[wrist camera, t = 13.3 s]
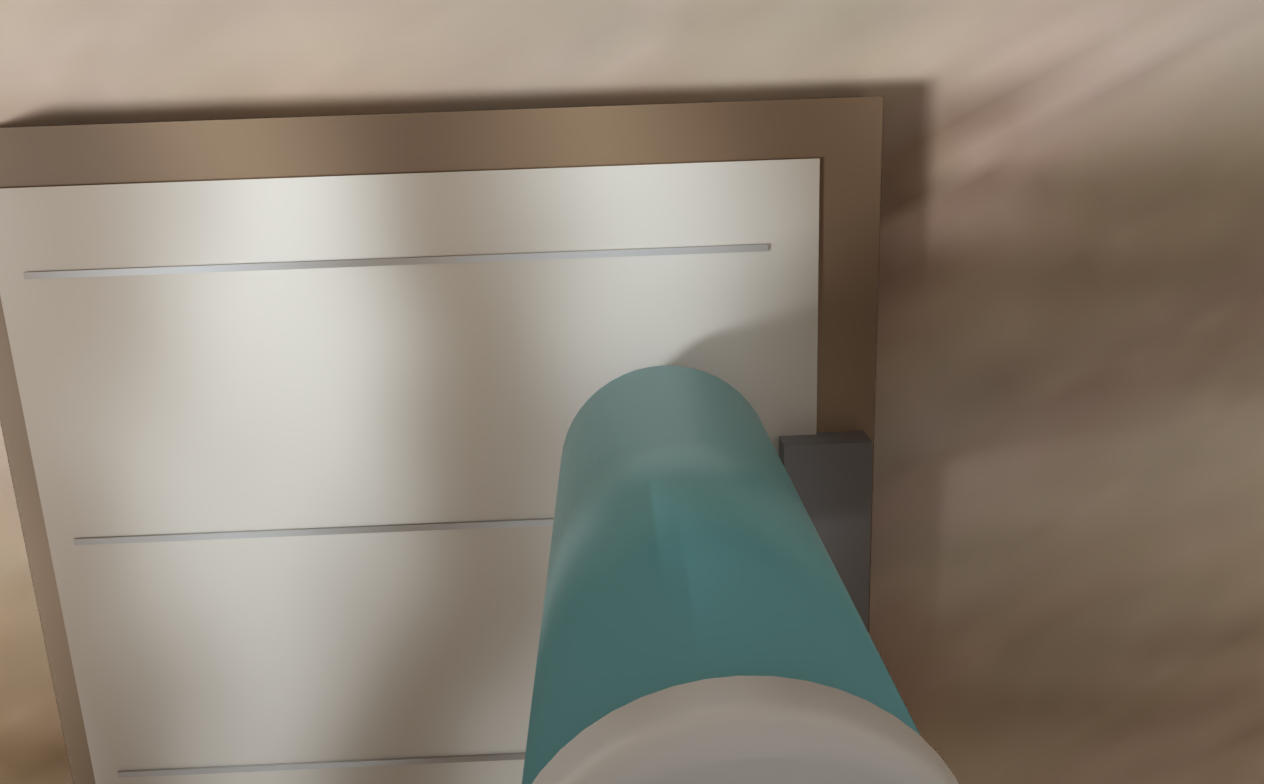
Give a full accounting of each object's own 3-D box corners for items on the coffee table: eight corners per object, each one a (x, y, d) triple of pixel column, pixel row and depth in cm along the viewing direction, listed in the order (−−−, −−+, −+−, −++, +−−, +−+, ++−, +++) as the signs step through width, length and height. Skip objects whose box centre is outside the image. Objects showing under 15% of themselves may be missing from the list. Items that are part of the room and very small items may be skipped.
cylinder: (563, 539, 20) (501, 1220, 8) (553, 344, 19) (462, 769, 7) (764, 531, 20) (1016, 1194, 8) (764, 336, 19) (1054, 744, 7)
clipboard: (154, 1023, 24) (116, 1098, 22) (-18, 128, 19) (-86, 130, 17) (845, 989, 24) (865, 1062, 22) (866, 97, 19) (894, 95, 17)
